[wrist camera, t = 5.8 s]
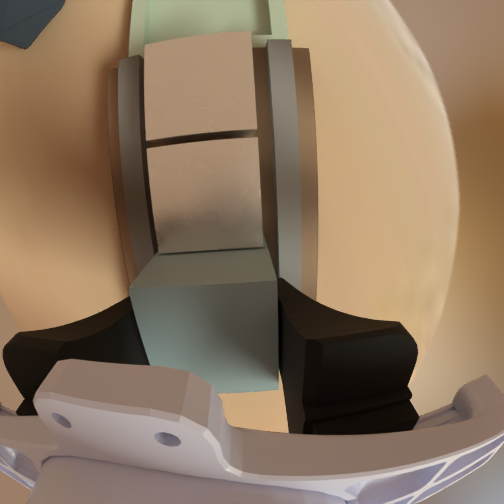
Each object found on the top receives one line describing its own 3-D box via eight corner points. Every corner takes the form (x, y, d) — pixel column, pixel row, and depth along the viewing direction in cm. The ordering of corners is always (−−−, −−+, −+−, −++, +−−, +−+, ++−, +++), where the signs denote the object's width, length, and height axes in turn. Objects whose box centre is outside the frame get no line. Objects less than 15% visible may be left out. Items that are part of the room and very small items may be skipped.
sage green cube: (267, 318, 14) (278, 389, 9) (181, 322, 14) (159, 392, 9) (263, 233, 13) (277, 280, 8) (166, 240, 13) (127, 287, 8)
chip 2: (259, 230, 13) (263, 246, 11) (173, 236, 13) (158, 253, 11) (254, 141, 12) (257, 137, 9) (164, 150, 12) (146, 148, 9)
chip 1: (254, 134, 12) (257, 129, 9) (163, 143, 12) (146, 140, 9) (249, 53, 10) (250, 30, 8) (161, 63, 10) (144, 44, 8)
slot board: (307, 314, 17) (318, 343, 14) (153, 322, 17) (140, 351, 14) (300, 61, 12) (313, 40, 9) (123, 79, 12) (99, 65, 9)
